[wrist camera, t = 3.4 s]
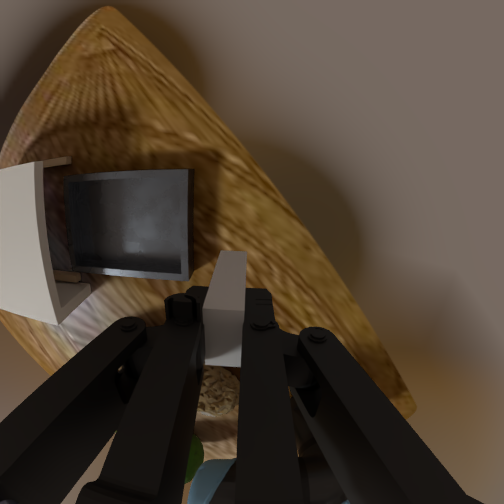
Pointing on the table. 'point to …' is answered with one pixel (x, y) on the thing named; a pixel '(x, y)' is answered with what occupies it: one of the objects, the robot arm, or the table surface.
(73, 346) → the table surface
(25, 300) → the white box
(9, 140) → the table surface
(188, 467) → the avocado
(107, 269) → the tray
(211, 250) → the table surface
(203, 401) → the sponge
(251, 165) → the table surface
